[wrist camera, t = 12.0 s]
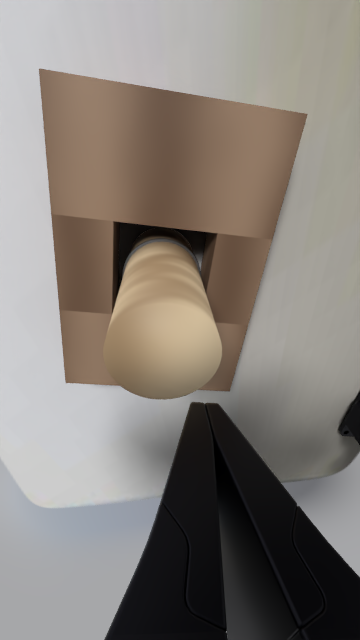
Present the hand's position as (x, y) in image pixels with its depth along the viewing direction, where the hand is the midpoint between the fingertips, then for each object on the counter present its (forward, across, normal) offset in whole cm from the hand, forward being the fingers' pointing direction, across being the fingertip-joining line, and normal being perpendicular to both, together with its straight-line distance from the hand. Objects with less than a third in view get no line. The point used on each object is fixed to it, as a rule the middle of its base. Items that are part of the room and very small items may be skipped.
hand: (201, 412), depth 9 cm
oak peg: (+12, +1, -1) cm, 12 cm away
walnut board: (+12, +1, -1) cm, 12 cm away
